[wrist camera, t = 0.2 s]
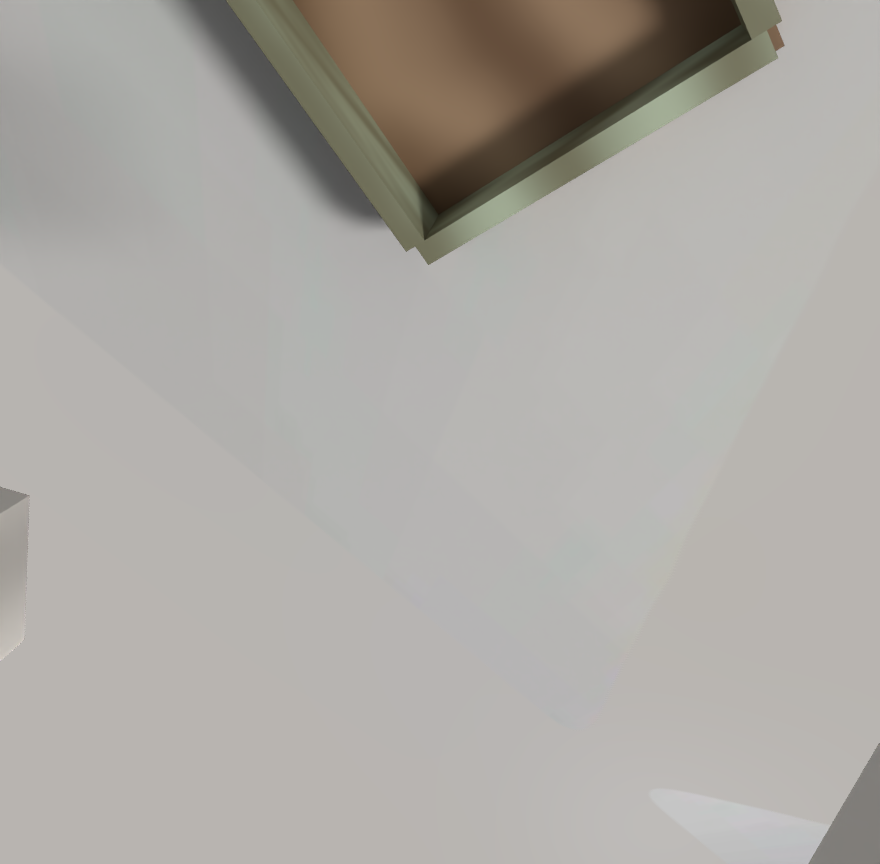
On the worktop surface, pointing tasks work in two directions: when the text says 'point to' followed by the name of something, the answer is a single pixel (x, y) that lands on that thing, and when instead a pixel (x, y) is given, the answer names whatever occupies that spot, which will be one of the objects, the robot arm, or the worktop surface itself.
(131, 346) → the worktop surface
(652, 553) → the worktop surface
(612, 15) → the wooden drawer tray
